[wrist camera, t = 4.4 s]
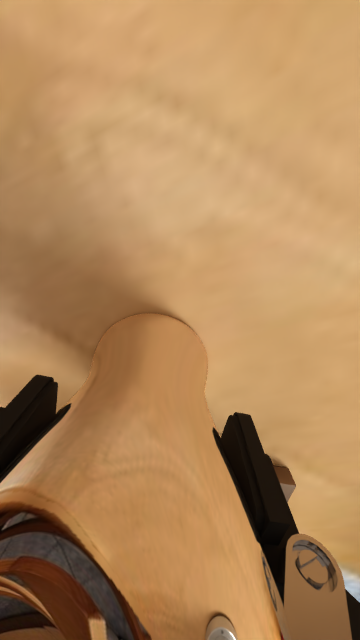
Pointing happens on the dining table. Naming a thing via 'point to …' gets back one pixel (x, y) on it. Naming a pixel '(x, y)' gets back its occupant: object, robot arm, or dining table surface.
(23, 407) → the robot arm
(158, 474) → the beer glass
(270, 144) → the dining table surface
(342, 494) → the dining table surface
